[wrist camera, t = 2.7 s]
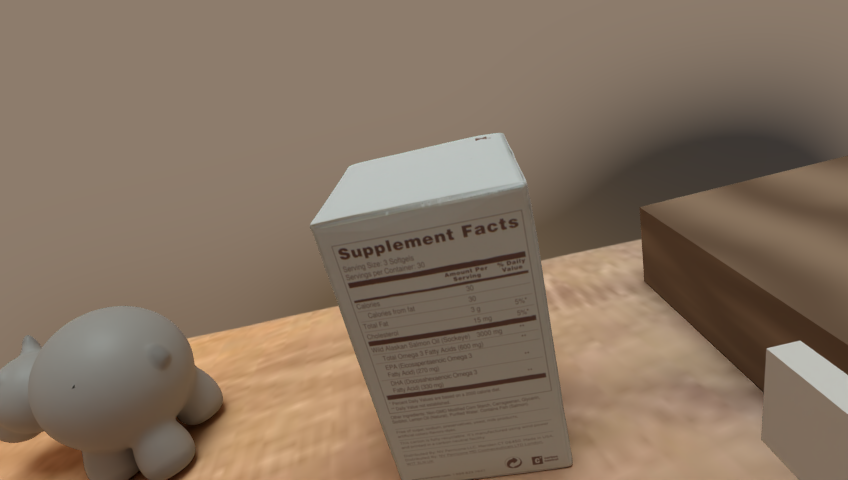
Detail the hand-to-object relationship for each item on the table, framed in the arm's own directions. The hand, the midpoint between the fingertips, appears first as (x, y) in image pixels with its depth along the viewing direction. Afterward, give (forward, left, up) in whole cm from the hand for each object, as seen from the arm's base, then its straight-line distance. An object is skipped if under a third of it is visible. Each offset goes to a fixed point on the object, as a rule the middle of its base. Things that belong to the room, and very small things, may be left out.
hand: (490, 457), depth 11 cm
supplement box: (0, -10, -8) cm, 13 cm away
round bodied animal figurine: (+20, -14, -8) cm, 26 cm away
